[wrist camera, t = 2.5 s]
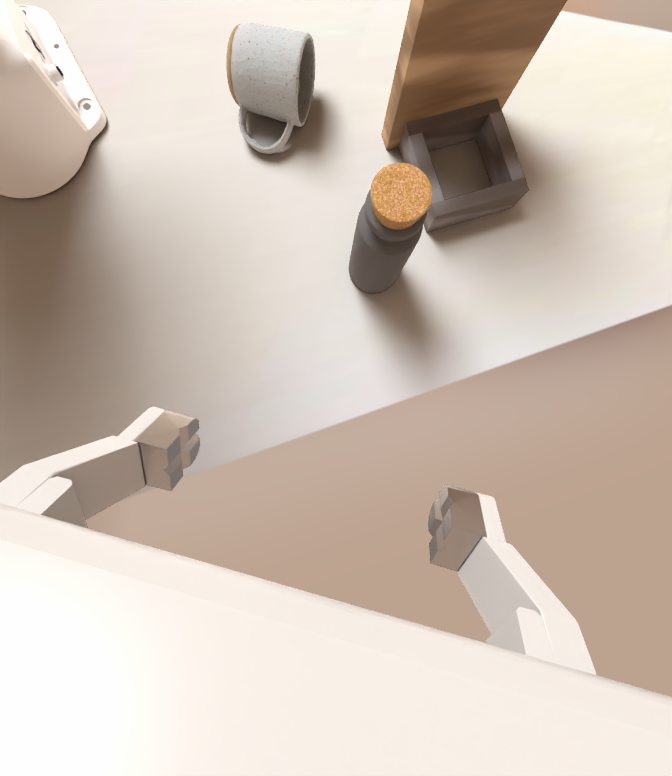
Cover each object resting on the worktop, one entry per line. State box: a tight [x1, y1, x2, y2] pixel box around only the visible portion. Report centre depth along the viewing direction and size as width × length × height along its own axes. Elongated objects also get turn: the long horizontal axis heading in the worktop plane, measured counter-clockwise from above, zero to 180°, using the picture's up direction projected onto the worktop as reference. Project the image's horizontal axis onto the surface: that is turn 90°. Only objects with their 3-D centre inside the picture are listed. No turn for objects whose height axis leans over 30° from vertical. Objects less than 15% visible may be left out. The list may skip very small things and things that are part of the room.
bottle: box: [349, 163, 432, 293], centre depth 34 cm, size 6×6×15 cm
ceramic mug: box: [227, 23, 315, 154], centre depth 38 cm, size 11×8×8 cm
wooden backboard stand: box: [382, 0, 567, 232], centre depth 32 cm, size 13×14×20 cm
